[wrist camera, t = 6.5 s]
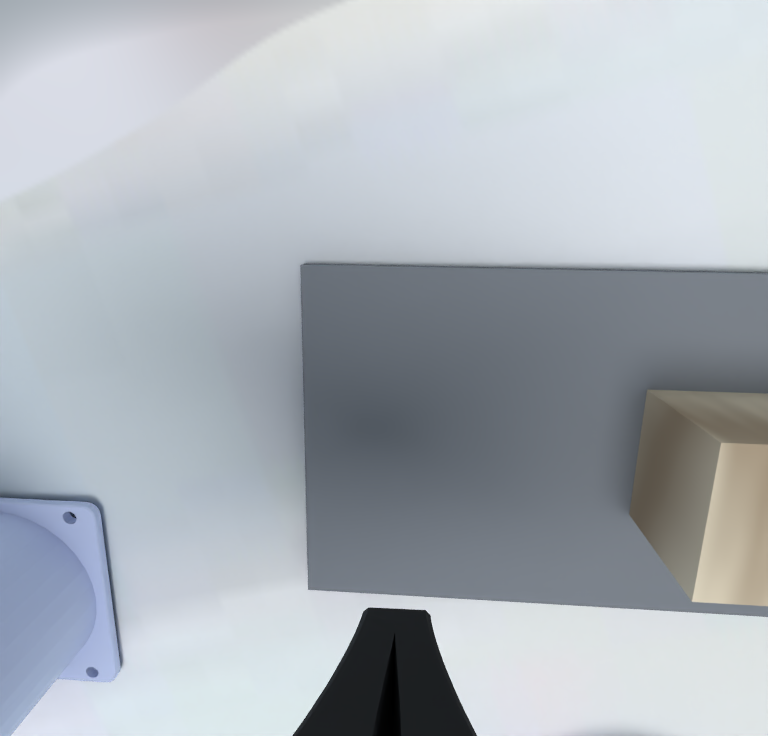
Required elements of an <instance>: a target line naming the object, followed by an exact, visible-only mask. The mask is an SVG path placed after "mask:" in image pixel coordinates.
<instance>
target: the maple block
mask: <svg viewBox="0 0 768 736" xmlns="http://www.w3.org/2000/svg"><path fill="white" fill-rule="evenodd" d="M629 515H630V516H631V518H632V519H633V521H634V522H635V523H636V525H637V526H638V528H639V529H640V530H641V532H642V533H643V535H644V536H645V537H646V539H647V540H648V541H649V543H650V544H651V546H652V547H653V548H654V550H655V551H656V553H657V554H658V555H659V557H660V558H661V560H662V561H663V562H664V564H665V565H666V566H667V568H668V569H669V571H670V572H671V573H672V575H673V576H674V578H675V579H676V580H677V582H678V583H679V585H680V586H681V587H682V589H683V590H684V591H685V593H686V594H687V596H688V597H689V598H690V600H691V601H692V602H703V603H720V604H738V605H755V606H768V394H765V393H735V392H705V391H676V390H647V394H646V401H645V408H644V415H643V422H642V429H641V436H640V443H639V450H638V457H637V464H636V471H635V477H634V484H633V491H632V498H631V505H630V512H629Z"/></svg>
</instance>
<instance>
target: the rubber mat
mask: <svg viewBox="0 0 768 736" xmlns="http://www.w3.org/2000/svg"><path fill="white" fill-rule="evenodd" d="M301 303H302V345H303V387H304V429H305V471H306V513H307V555H308V590H323V591H340V592H357V593H374V594H391V595H407V596H424V597H441V598H458V599H475V600H492V601H509V602H526V603H543V604H560V605H577V606H594V607H610V608H627V609H644V610H661V611H678V612H695V613H712V614H729V615H746V616H763V617H768V606H755V605H738V604H720V603H703V602H692V601H691V600H690V598H689V597H688V596H687V594H686V593H685V591H684V590H683V589H682V587H681V586H680V585H679V583H678V582H677V580H676V579H675V578H674V576H673V575H672V573H671V572H670V571H669V569H668V568H667V566H666V565H665V564H664V562H663V561H662V560H661V558H660V557H659V555H658V554H657V553H656V551H655V550H654V548H653V547H652V546H651V544H650V543H649V541H648V540H647V539H646V537H645V536H644V535H643V533H642V532H641V530H640V529H639V528H638V526H637V525H636V523H635V522H634V521H633V519H632V518H631V516H630V515H629V512H630V505H631V498H632V491H633V484H634V477H635V471H636V464H637V457H638V450H639V443H640V436H641V429H642V422H643V415H644V408H645V401H646V394H647V390H676V391H705V392H735V393H765V394H768V273H744V272H693V271H642V270H591V269H540V268H489V267H438V266H387V265H336V264H303V265H301Z"/></svg>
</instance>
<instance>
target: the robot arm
mask: <svg viewBox="0 0 768 736" xmlns="http://www.w3.org/2000/svg"><path fill="white" fill-rule="evenodd" d="M70 512H72V513H73V514H75V516H76V518H73V517H72V516H71V515H70ZM95 668H96V669H95ZM120 668H121V667H120V659H119V651H118V644H117V636H116V628H115V621H114V613H113V605H112V598H111V590H110V582H109V575H108V567H107V559H106V552H105V544H104V536H103V529H102V521H101V514H100V511H99V509H98V508H97V507H96V506H95V505H94V504H92V503H89V502H78V501H58V500H38V499H18V498H0V736H11V734H12V733H13V732H14V731H15V730H16V728H17V727H18V726H19V725H20V723H21V722H22V721H23V720H24V719H25V717H26V716H27V715H28V714H29V712H30V711H31V710H32V709H33V707H34V706H35V705H36V704H37V703H38V701H39V700H40V699H41V698H42V696H43V695H44V694H45V693H46V692H47V690H48V689H49V688H50V687H51V685H52V684H53V683H54V682H55V680H56V679H68V680H81V681H95V682H111V681H113V680H114V679H115V678H116V676H117V675H118V673H119V672H120ZM293 736H477V735H476V733H475V731H474V729H473V727H472V725H471V723H470V721H469V719H468V717H467V715H466V713H465V711H464V709H463V707H462V705H461V703H460V700H459V698H458V696H457V694H456V691H455V689H454V687H453V684H452V682H451V680H450V677H449V675H448V673H447V670H446V668H445V665H444V662H443V660H442V657H441V654H440V651H439V648H438V645H437V642H436V639H435V635H434V632H433V628H432V623H431V616H430V614H429V613H428V612H427V611H426V610H409V609H388V608H367V609H366V610H365V611H364V612H363V614H362V617H361V620H360V623H359V625H358V627H357V630H356V632H355V634H354V636H353V638H352V641H351V642H350V644H349V646H348V648H347V650H346V652H345V654H344V656H343V658H342V660H341V661H340V663H339V665H338V667H337V668H336V670H335V672H334V674H333V675H332V677H331V679H330V681H329V682H328V684H327V686H326V687H325V689H324V690H323V692H322V693H321V695H320V696H319V698H318V699H317V701H316V702H315V704H314V705H313V707H312V709H311V710H310V712H309V713H308V715H307V716H306V718H305V719H304V720H303V722H302V723H301V725H300V726H299V727H298V729H297V730H296V732H295V733H294V734H293Z"/></svg>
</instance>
